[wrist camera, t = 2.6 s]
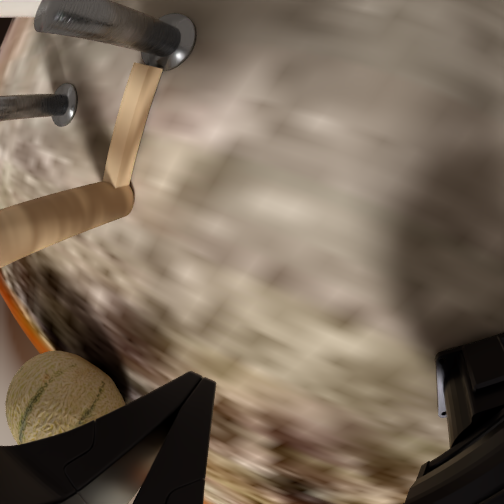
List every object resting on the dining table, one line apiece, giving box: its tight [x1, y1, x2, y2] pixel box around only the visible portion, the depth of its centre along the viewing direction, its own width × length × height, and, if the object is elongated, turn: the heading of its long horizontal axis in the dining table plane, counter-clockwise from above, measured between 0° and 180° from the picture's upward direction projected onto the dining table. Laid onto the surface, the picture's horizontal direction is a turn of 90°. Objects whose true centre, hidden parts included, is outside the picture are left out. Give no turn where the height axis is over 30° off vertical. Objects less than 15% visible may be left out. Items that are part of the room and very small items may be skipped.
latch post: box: [0, 83, 77, 127], centre depth 16 cm, size 4×4×14 cm
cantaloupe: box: [6, 351, 125, 445], centre depth 26 cm, size 15×15×15 cm
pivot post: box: [34, 0, 196, 71], centre depth 13 cm, size 4×4×10 cm
